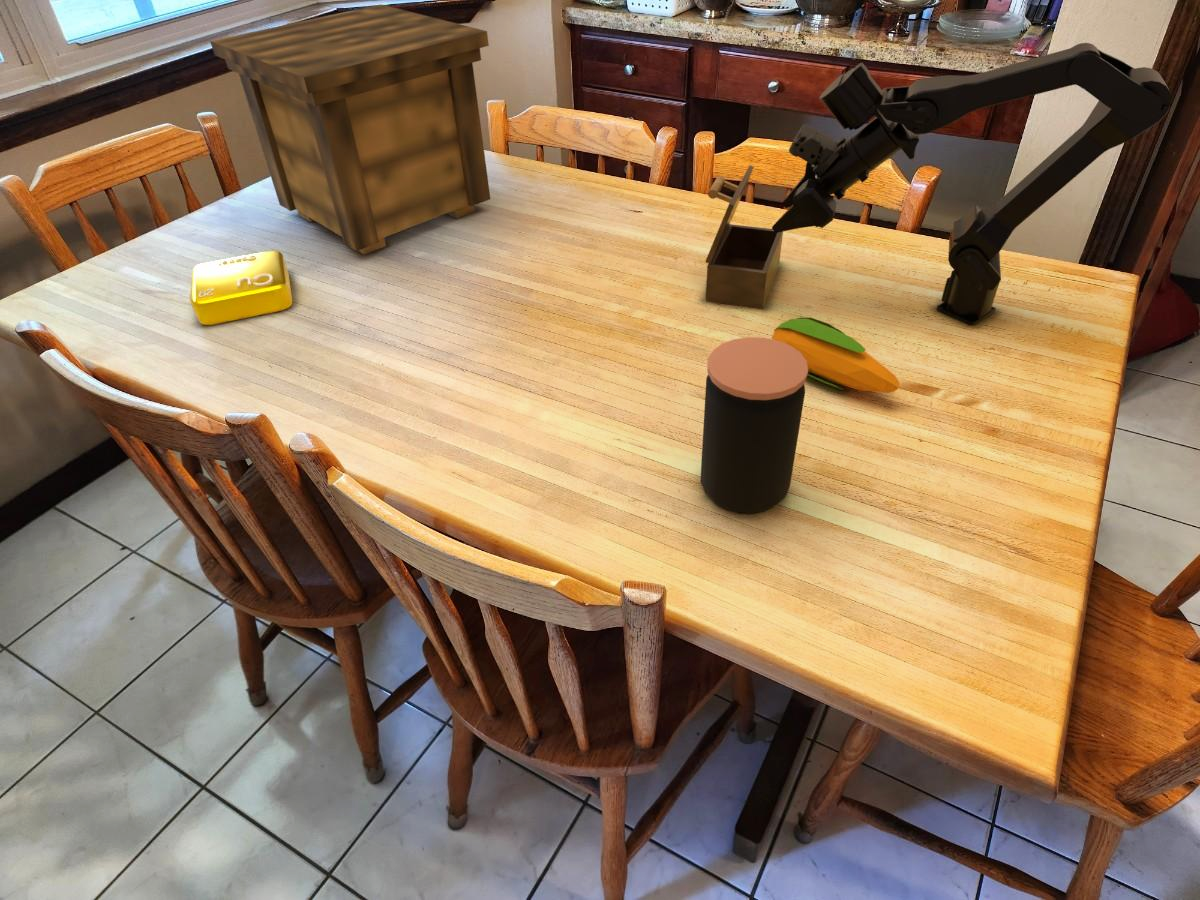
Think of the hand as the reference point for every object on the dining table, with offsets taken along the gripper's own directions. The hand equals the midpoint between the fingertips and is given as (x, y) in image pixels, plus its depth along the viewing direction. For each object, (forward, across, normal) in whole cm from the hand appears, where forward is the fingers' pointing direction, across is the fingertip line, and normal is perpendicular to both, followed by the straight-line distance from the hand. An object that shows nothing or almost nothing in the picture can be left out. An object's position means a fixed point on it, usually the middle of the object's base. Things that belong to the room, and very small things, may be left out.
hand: (778, 217), depth 125 cm
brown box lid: (+5, 0, -5) cm, 7 cm away
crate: (+64, -9, -48) cm, 81 cm away
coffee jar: (+5, +49, +12) cm, 51 cm away
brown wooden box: (+12, 0, +5) cm, 13 cm away
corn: (0, +24, +18) cm, 30 cm away
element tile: (+68, +28, -52) cm, 90 cm away
